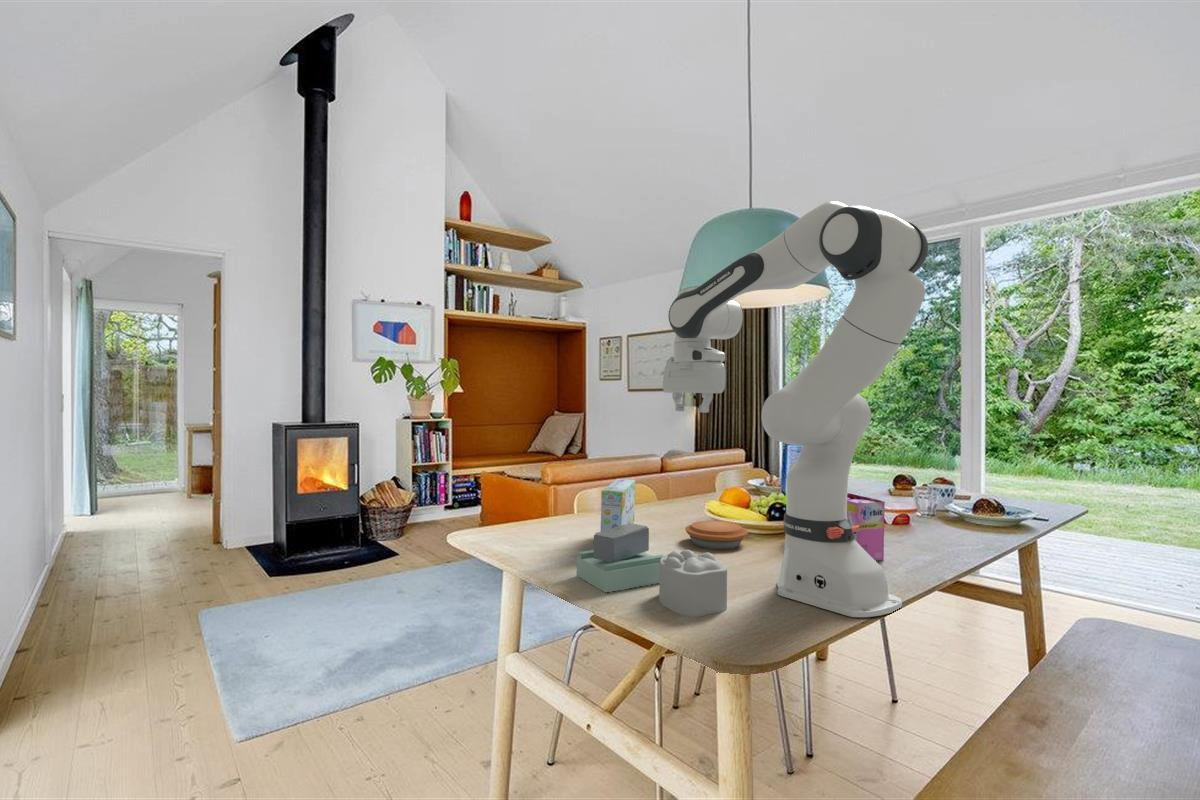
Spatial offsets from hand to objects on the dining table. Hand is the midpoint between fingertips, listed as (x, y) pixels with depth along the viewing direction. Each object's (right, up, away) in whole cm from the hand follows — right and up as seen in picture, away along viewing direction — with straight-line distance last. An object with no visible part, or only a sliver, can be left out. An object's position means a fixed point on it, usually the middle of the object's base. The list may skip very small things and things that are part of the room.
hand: (691, 411), depth 145 cm
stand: (-18, -33, -25) cm, 45 cm away
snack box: (-18, -33, +3) cm, 38 cm away
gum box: (+35, -34, 0) cm, 49 cm away
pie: (+7, -34, +4) cm, 34 cm away
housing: (-18, -28, -25) cm, 42 cm away
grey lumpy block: (-6, -34, -38) cm, 51 cm away
